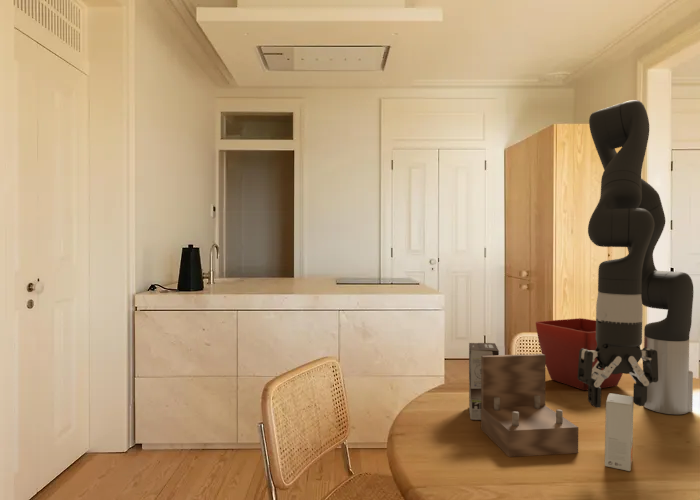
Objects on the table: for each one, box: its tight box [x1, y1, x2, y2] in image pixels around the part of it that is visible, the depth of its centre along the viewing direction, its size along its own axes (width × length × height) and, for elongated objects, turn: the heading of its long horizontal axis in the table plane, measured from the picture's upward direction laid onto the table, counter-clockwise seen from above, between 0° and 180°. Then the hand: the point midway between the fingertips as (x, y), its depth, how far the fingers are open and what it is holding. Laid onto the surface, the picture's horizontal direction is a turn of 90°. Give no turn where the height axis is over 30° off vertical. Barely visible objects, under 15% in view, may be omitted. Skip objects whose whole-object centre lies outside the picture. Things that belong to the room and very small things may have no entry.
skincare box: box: [604, 392, 634, 472], centre depth 93 cm, size 6×4×12 cm
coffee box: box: [468, 342, 500, 421], centre depth 119 cm, size 9×6×16 cm
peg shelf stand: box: [480, 353, 579, 458], centre depth 104 cm, size 14×14×16 cm
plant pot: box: [535, 317, 624, 391], centre depth 144 cm, size 19×19×17 cm
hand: (617, 405), depth 93 cm, fingers open, 8 cm apart
